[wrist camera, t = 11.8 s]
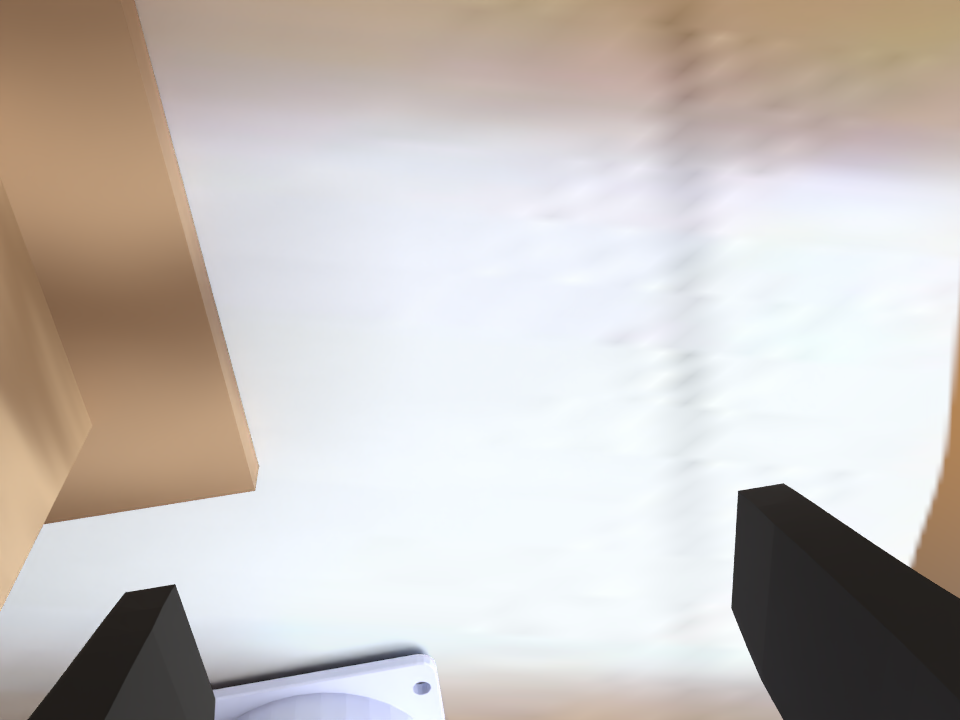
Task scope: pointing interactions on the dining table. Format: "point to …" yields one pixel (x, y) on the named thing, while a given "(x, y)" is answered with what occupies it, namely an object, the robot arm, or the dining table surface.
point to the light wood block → (30, 404)
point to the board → (117, 260)
